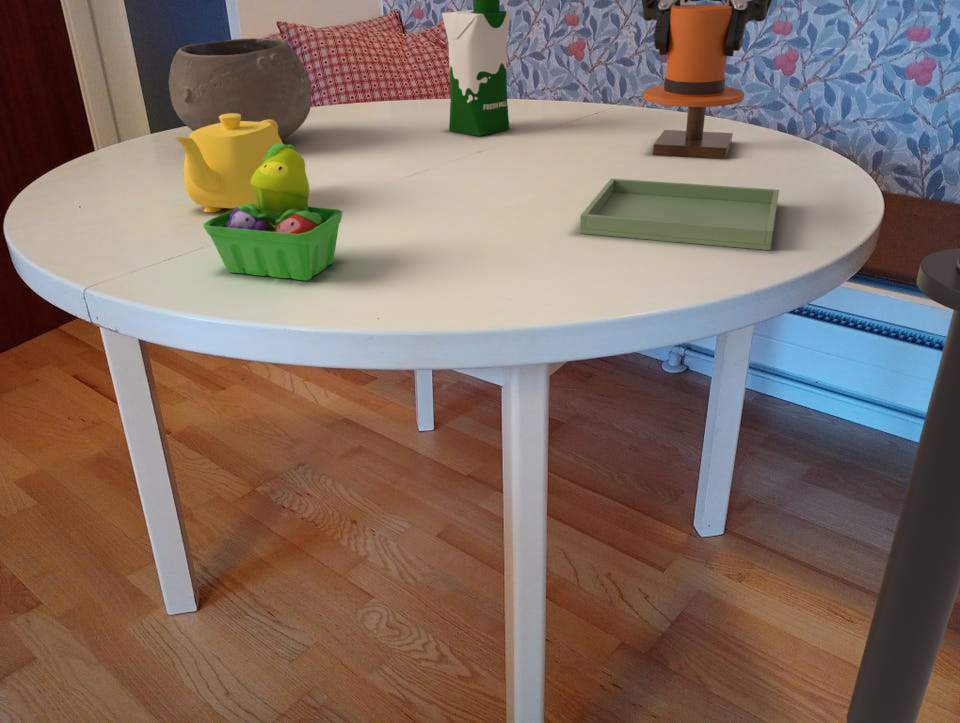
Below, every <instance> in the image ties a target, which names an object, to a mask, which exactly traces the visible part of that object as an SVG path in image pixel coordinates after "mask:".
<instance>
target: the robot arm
mask: <svg viewBox="0 0 960 723" xmlns="http://www.w3.org/2000/svg"><path fill="white" fill-rule="evenodd" d="M700 1H701V2H702V0H641V6H642V17H643V19H644V21H646V22H650V21H651V22H652V21H653V20H654V21H656V22H655V27H654V31H653V44H654V45H653V46H654V48H655V50H658V51H659V52H658V53H659V56H667V55H668V43H669V31H670V18H671V8H672V7H674V6H681V5H690V3H691V2H700ZM710 1H712V2H722V1H723V3H724V4H723V5H725V6H731V7H732V14H731V18H730V23H729V29H728V34H727V40H726V56H727V57H734V53H735V52H739V51H741V49H742V47H743V43H744V42H743V41H744V36H745V30H746V25H747V24H748V23H750V22H752V21H755V22H758V23H759V22H760V23H761V22H763V21H765V20H766V19H767V17H768V16H767V15H768V12H769V10H770V8H771V4H772V2H773V0H710ZM956 270H957V272H958V273H959V274H960V257H959V258H958V260H957V264H956Z"/></svg>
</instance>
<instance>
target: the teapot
mask: <svg viewBox="0 0 960 723" xmlns="http://www.w3.org/2000/svg"><path fill="white" fill-rule="evenodd" d="M219 119H220V121H221V123H217V124H213V125H209V126H206V127H203V128H200V129H197V130H195V131H192V132H191V133H190V134H189V137H187V136H185V137H183V136H182V137H179V136H178V137H177V136H176V137H174V140H176V141H177V142H179V143H180V145H182V147H183V150H184V152H185V155H184V163H183V180H184V187H185V191H186V193H187V195H188V196H189V198H190V199H191V200H192V201H193V202H194V204H196V205H199V206H204V207H205V208H204V209H203V212H205V213H216V212H221V211H222V210H223V209H235V208H236V207H237V206H242V205H245V204H256V203H258V200H257V198H256V195H255V193H254V190H253V188H252V185H251V183H250V182H251V179H252V176H253V174H254V173H255V171H256V170H257V169H258V168H259V167H260V166H261V165H262V164H263V163H264V162H263V159H265V157H266V155H267V153H268V151H269V149H270V148H271V147H272V146H273V145H275V144H279V143H281V144H284V142H283V139H282V140H281V139H280V137H279V135H278V125H277V123H276V121H274V120H271V119H268V120H263V121H261V122H253V121H240V120H241V115H240V114H237V113H229V114H223V115H220V116H219Z"/></svg>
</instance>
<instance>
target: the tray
mask: <svg viewBox="0 0 960 723" xmlns="http://www.w3.org/2000/svg"><path fill="white" fill-rule="evenodd" d="M599 191H600V192H598V194H597V195H596V196H595V198H593V200H592V201H591V202H590V203H589V205H588V206H587V207H585V208H586V209H585V210H584V211H583V212H582V213H581V214H580V221H579V222H580V224H579V225H580V226H579V227H580V228H579V233H580V234H583V235H594V236H606V237H617V238H628V239H639V240H651V241H659V242H661V241H662V242H673V243H683V244H693V245H694V244H695V245H707V246H716V247H717V246H719V247H729V248H738V249H740V248H741V249H749V250H752V249H753V250H763V251H771V248H772V241H773V236H774V235H773V234H774V230H775V222H776V214H777V209H778V208H777V207H778V200H779V193H780V189H773V188H759V187H745V186H743V187H742V186H727V185H713V184H699V183H686V182H685V183H684V182H683V183H682V182H669V181H668V182H667V181H654V180H642V179H641V180H640V179H639V180H637V179H623V178H610V179H609V180H608V182H607V183H605V185H604V186H603V187H602V189H601V190H599Z"/></svg>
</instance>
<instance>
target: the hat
mask: <svg viewBox="0 0 960 723" xmlns="http://www.w3.org/2000/svg"><path fill="white" fill-rule="evenodd" d="M731 14H732V7H731V6H725V4H688V5H681V6H674V7H672V8H671V18H670V31H669V43H668V53H667V55H666V56H667V58H666V70H665V77H664V83H663V84H664V85H663V84H662V85H657V86H652V87H649V88H646V89H644V91H643V99H644V100H645V101H647V102H649V103H651V104H657V105H662V106H669V107H670V106H671V107H680V108H681V107H682V108H688V107H706V108H715V107H716V108H717V107H726V106H731V105H736V104H739V103H742V102H743V101H744V99H745V92H744V91H743V90H742V89H739V88H735V87H731V86H726V77H725V76H726V75H725V74H726V67H727V60H728V59H727V58H728V56H726V40H727V34H728V29H729V23H730V18H731Z"/></svg>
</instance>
